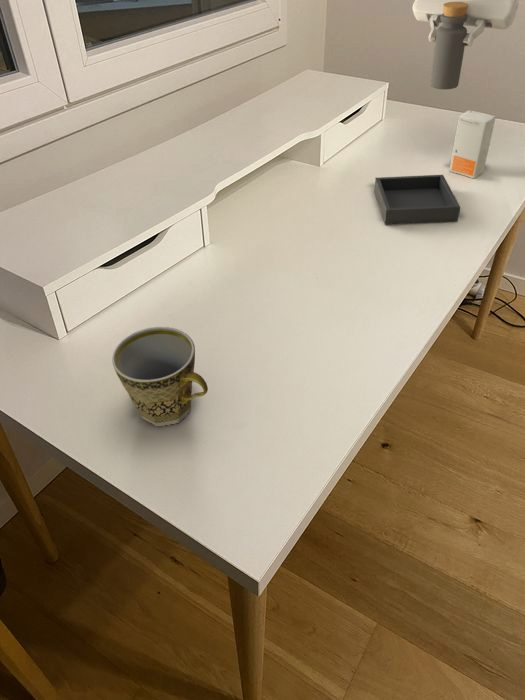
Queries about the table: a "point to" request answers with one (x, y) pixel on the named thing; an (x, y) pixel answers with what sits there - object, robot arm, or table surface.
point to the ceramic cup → (158, 373)
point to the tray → (416, 200)
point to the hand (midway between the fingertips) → (449, 42)
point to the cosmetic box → (472, 143)
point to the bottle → (449, 46)
